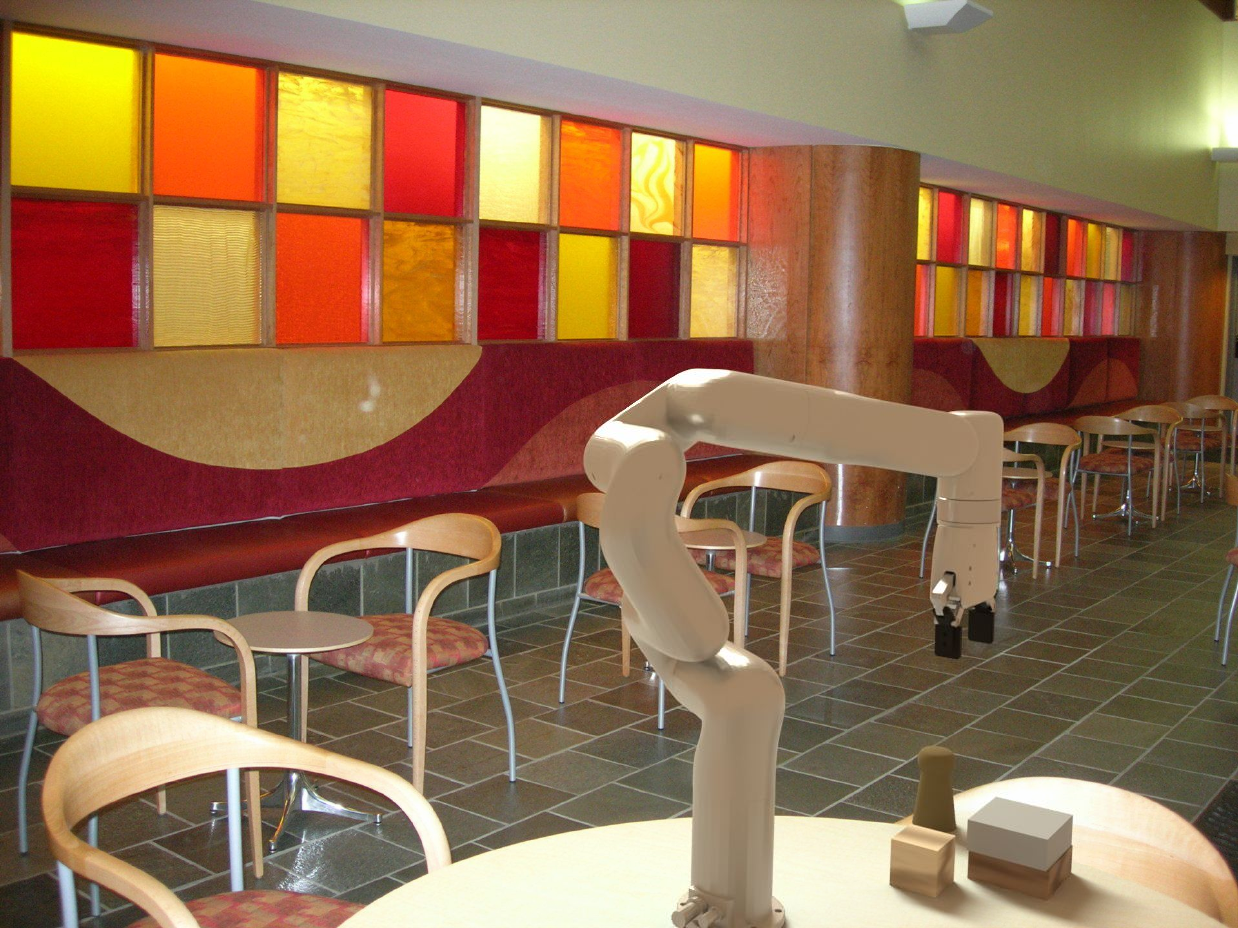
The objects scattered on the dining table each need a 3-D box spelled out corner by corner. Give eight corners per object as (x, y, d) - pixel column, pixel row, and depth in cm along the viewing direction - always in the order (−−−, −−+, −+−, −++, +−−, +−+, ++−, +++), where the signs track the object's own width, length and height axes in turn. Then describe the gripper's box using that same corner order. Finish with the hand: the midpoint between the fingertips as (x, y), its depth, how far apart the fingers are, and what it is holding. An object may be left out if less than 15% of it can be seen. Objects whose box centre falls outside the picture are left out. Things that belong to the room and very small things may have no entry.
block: (935, 898, 145) (937, 851, 145) (889, 884, 149) (891, 838, 148) (953, 881, 150) (955, 835, 150) (908, 868, 154) (910, 823, 153)
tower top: (1046, 871, 145) (1047, 839, 145) (966, 849, 151) (967, 819, 151) (1071, 844, 153) (1072, 814, 153) (994, 825, 159) (996, 796, 159)
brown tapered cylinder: (957, 834, 165) (961, 757, 164) (912, 830, 166) (915, 753, 165) (954, 818, 171) (957, 743, 170) (911, 814, 172) (914, 739, 171)
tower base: (1047, 903, 145) (1048, 871, 145) (967, 880, 151) (968, 850, 151) (1071, 875, 153) (1072, 845, 153) (994, 854, 159) (995, 825, 159)
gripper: (968, 502, 155) (964, 631, 156) (908, 517, 141) (904, 658, 143) (1025, 507, 150) (1021, 640, 152) (969, 523, 137) (964, 669, 138)
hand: (964, 649), depth 147 cm, fingers open, 9 cm apart
